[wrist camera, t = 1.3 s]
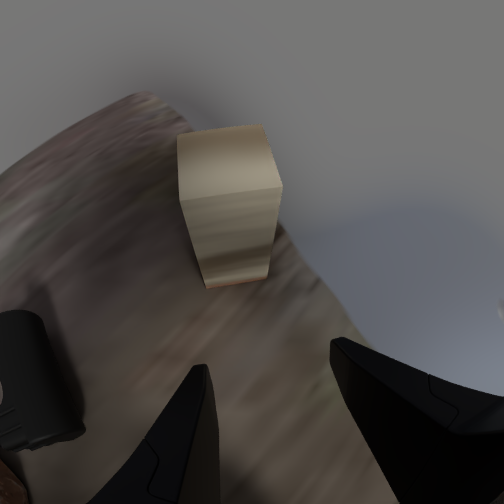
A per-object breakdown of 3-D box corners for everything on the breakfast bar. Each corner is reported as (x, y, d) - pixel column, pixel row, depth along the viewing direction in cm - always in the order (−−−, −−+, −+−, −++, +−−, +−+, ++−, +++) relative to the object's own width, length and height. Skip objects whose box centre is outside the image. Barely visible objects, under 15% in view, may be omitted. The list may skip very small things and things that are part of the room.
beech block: (266, 278, 25) (282, 186, 14) (206, 288, 24) (179, 201, 14) (255, 227, 27) (261, 123, 16) (199, 236, 26) (176, 134, 16)
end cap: (103, 427, 18) (58, 432, 12) (48, 451, 16) (0, 457, 10) (58, 324, 22) (13, 299, 16) (11, 354, 20) (-36, 337, 14)
